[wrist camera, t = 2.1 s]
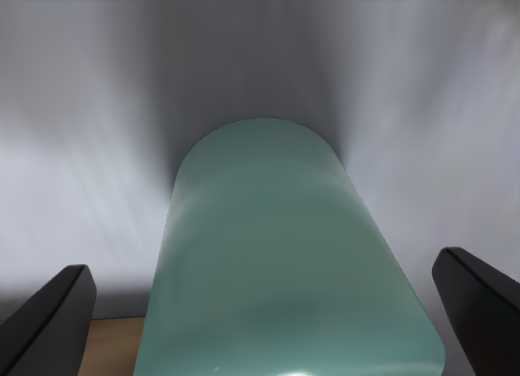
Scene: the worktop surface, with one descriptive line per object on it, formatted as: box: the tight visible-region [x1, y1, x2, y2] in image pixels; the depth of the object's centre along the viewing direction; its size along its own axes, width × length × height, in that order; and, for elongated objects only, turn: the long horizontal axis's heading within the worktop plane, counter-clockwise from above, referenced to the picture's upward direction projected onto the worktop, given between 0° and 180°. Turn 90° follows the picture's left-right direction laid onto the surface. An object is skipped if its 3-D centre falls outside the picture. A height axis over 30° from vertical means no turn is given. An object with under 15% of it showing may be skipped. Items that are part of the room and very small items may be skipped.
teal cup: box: [133, 117, 446, 376], centre depth 8 cm, size 6×6×6 cm
